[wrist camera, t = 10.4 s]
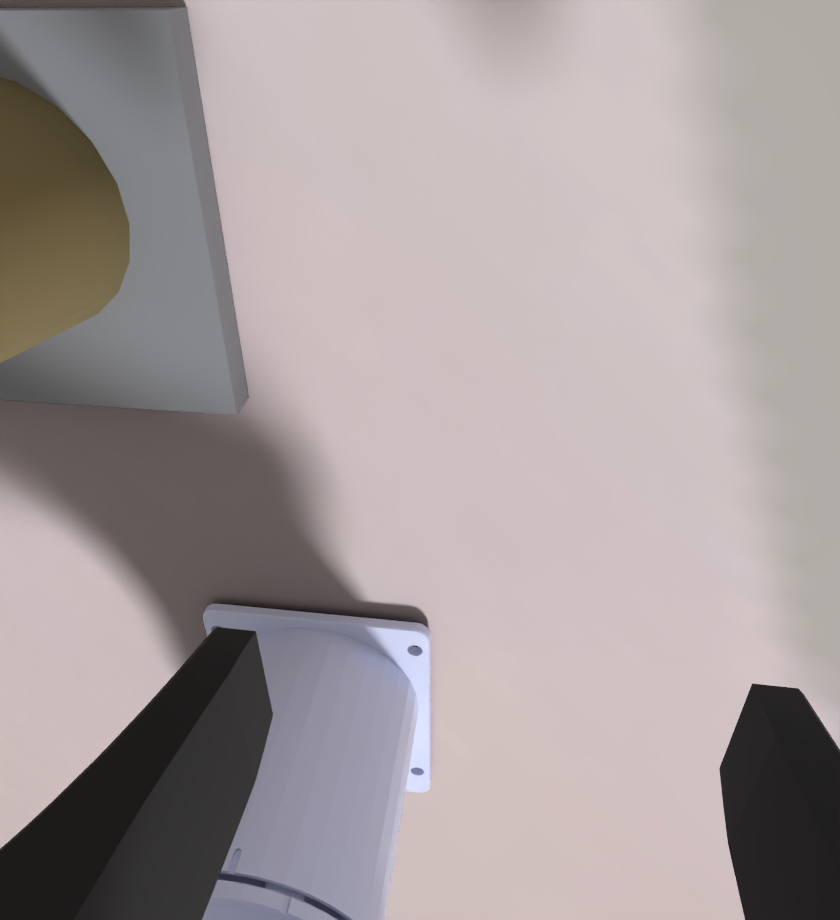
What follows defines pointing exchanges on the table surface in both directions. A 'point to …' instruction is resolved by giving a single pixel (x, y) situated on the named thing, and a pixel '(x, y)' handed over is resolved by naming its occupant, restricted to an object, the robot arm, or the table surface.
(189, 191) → the mat
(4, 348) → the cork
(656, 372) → the table surface
